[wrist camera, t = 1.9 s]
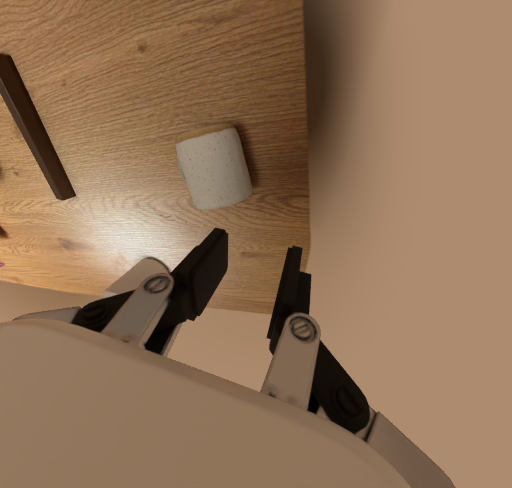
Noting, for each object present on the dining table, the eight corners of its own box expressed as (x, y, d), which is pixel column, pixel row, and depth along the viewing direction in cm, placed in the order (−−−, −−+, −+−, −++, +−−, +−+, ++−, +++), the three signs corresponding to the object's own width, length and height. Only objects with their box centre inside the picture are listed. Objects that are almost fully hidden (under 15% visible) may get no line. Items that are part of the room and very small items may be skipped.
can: (136, 257, 43) (84, 298, 34) (161, 255, 41) (112, 299, 31) (153, 281, 47) (110, 325, 38) (177, 282, 44) (137, 328, 35)
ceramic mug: (244, 118, 23) (214, 120, 17) (260, 186, 27) (241, 208, 21) (174, 141, 27) (129, 149, 21) (197, 197, 31) (166, 219, 25)
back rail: (10, 55, 26) (-15, 50, 24) (76, 196, 38) (63, 200, 36) (-8, 53, 27) (-33, 49, 25) (63, 193, 38) (49, 197, 36)
